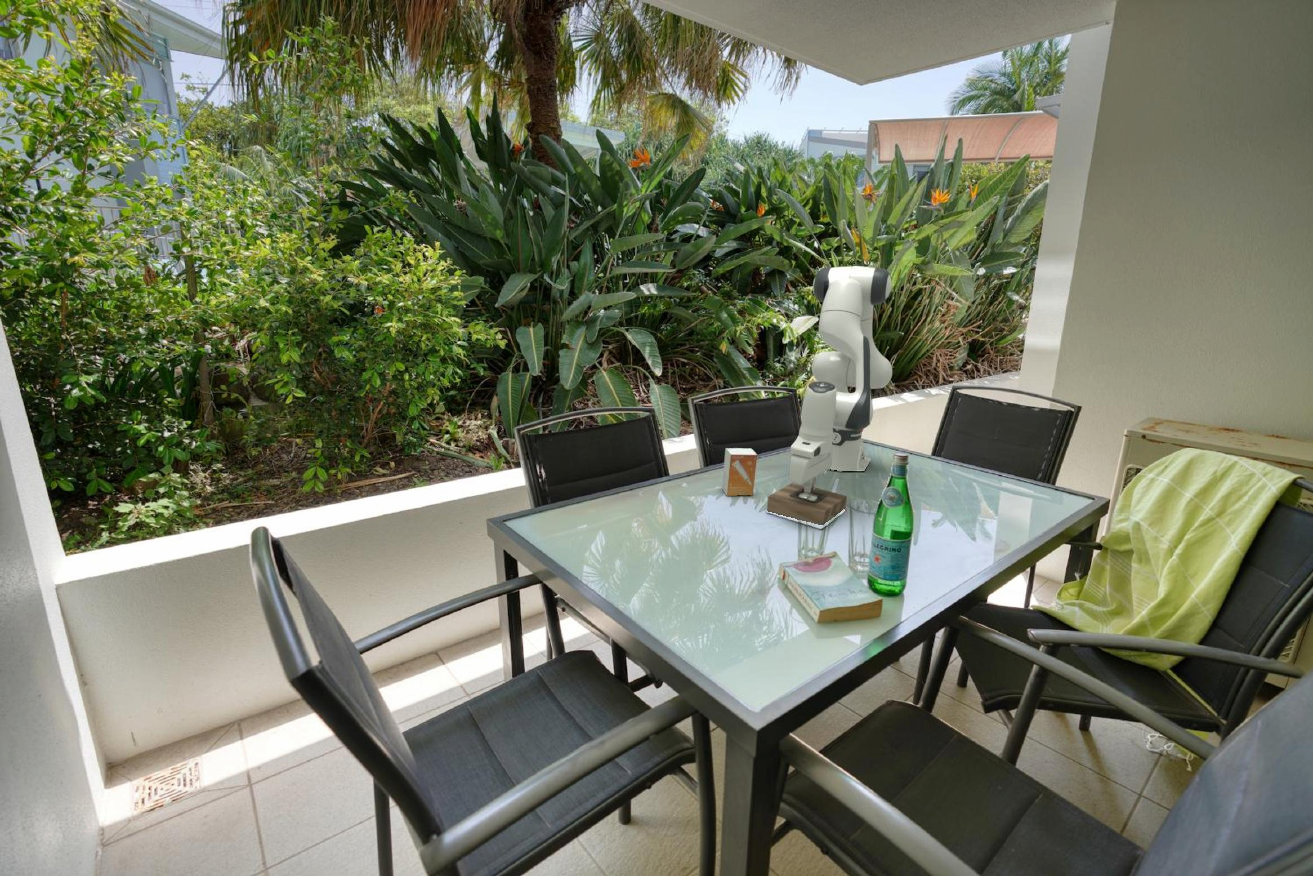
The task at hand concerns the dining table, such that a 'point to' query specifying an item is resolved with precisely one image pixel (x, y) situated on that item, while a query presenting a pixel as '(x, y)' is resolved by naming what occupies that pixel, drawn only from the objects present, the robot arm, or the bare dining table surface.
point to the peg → (808, 496)
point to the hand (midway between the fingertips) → (809, 491)
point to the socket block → (806, 504)
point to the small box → (739, 471)
